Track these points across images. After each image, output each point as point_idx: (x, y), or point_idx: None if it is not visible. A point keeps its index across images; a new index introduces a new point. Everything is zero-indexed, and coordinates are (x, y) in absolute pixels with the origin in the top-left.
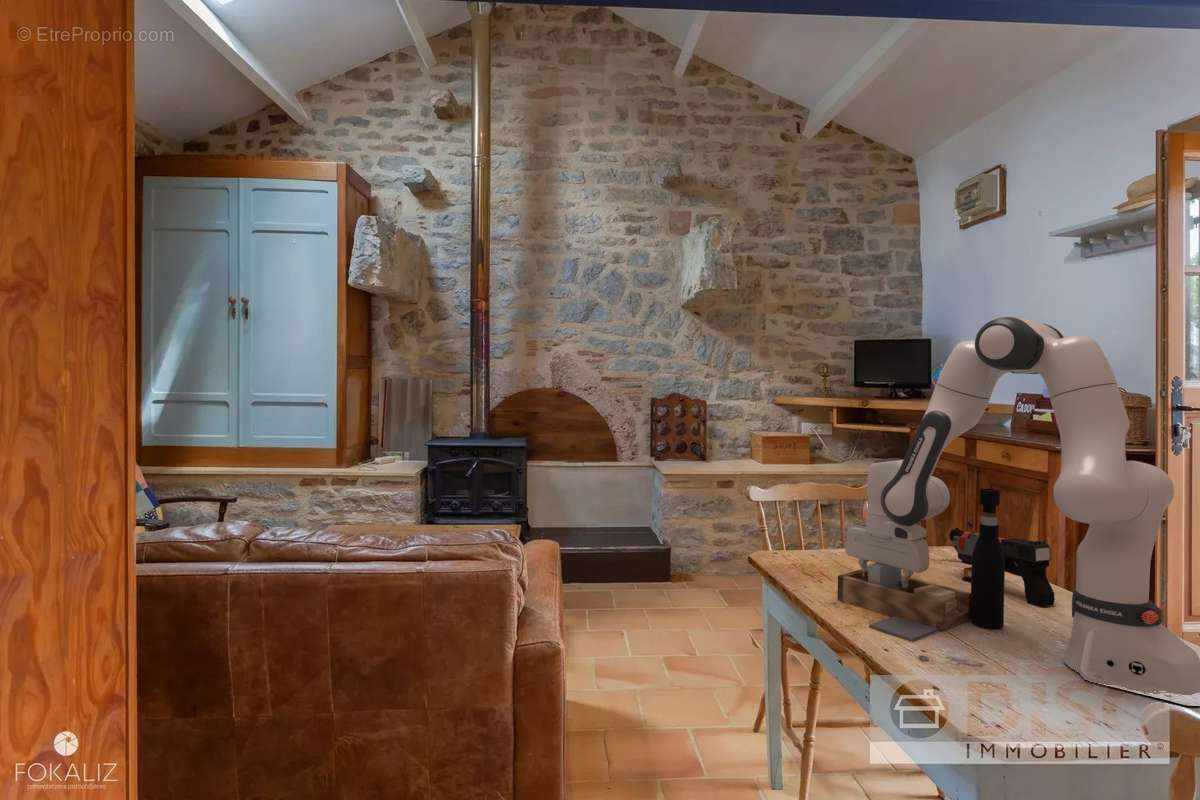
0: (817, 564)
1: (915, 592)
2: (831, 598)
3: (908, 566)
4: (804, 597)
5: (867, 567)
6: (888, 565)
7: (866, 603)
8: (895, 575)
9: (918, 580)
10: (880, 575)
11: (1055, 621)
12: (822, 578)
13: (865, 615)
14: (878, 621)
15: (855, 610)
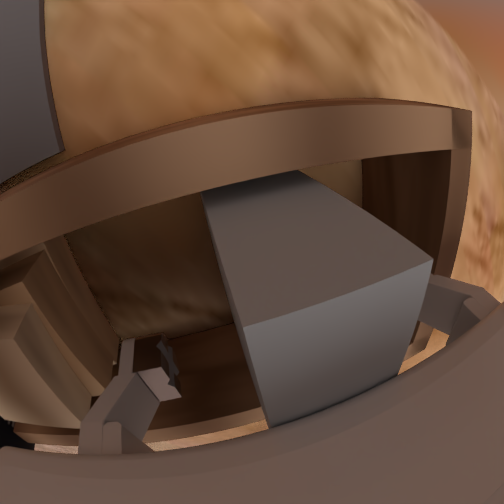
0: (492, 291)
1: (14, 324)
2: (399, 95)
3: (41, 482)
4: (435, 32)
5: (427, 317)
6: (254, 434)
7: (236, 110)
8: (257, 393)
9: (191, 431)
10: (221, 262)
11: (52, 449)
12: (478, 239)
13: (155, 36)
14: (38, 25)
15: (238, 43)
